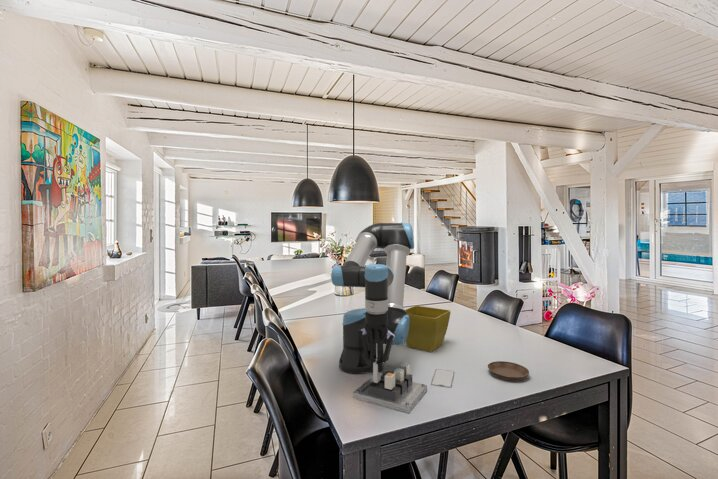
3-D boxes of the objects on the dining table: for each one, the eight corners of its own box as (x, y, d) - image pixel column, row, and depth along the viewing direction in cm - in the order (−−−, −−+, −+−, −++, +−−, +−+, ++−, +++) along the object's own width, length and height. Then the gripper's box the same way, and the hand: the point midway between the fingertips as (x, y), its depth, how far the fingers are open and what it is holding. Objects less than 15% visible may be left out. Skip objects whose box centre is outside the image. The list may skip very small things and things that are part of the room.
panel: (353, 398, 121) (353, 371, 120) (375, 378, 136) (375, 355, 135) (409, 413, 111) (409, 384, 111) (426, 390, 126) (427, 365, 125)
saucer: (538, 380, 134) (538, 373, 134) (504, 386, 130) (505, 378, 129) (510, 365, 148) (510, 359, 148) (479, 370, 144) (479, 363, 144)
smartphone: (454, 371, 142) (451, 387, 128) (454, 372, 142) (451, 389, 128) (435, 368, 144) (430, 384, 130) (435, 370, 144) (430, 386, 130)
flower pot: (415, 337, 185) (415, 304, 184) (451, 344, 174) (451, 309, 173) (397, 347, 170) (397, 312, 169) (435, 356, 159) (435, 318, 158)
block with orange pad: (384, 388, 116) (384, 375, 116) (388, 384, 119) (388, 372, 119) (391, 389, 115) (391, 376, 115) (395, 386, 118) (395, 373, 118)
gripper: (353, 311, 118) (354, 381, 120) (390, 316, 112) (390, 389, 114) (364, 306, 125) (364, 372, 126) (399, 310, 119) (399, 380, 120)
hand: (377, 380), depth 120 cm, fingers closed
